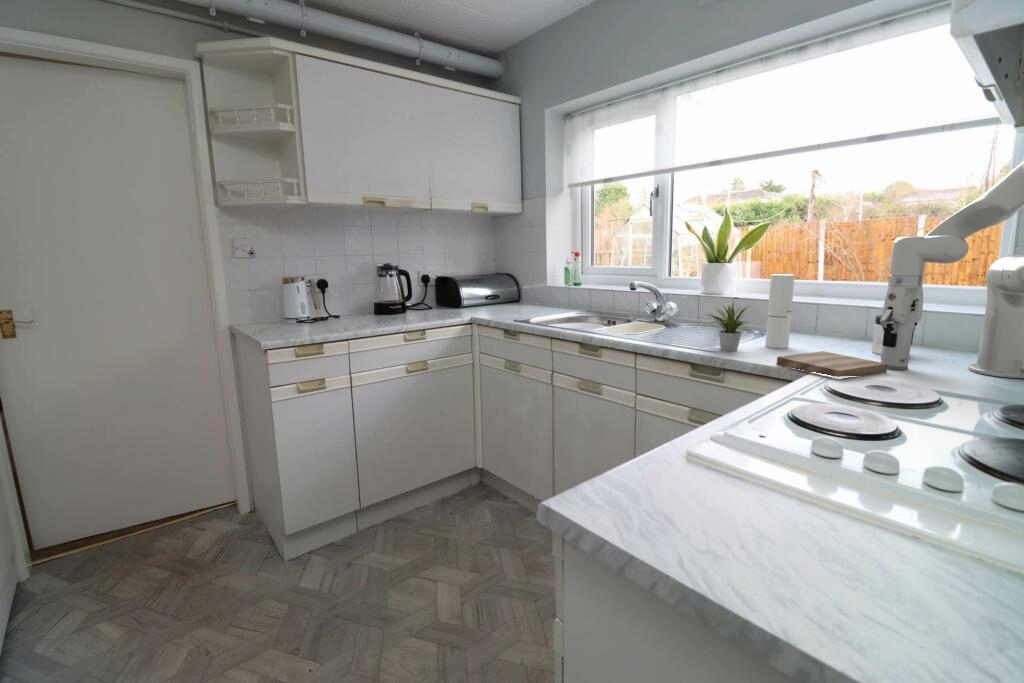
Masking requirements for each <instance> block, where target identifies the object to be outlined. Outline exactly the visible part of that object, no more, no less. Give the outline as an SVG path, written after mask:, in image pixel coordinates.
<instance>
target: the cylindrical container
mask: <svg viewBox="0 0 1024 683" xmlns="http://www.w3.org/2000/svg"><path fill="white" fill-rule="evenodd" d="M795 277H796V276H795V274H792V273H791V274H789V273H786V274H785V273H782V274H781V273H778V274H776V273H773V274H770V282H769V283H770V284H769V295H768V306H767V307H768V310H767V319H766V320H767V321H766V333H765V334H766V335H765V345H764V346H765V347H767V348H772V349H788V348H789V344H790V343H789V341H790V333H791V330H790V329H791V320H792V308H793V300H794V299H793V298H794V296H793V295H794V287H795V286H794V285H795Z"/></svg>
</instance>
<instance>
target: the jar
mask: <svg viewBox="0 0 1024 683" xmlns="http://www.w3.org/2000/svg"><path fill="white" fill-rule="evenodd" d="M882 316H883V314H879V315H876V316H875V320H874V322H875V323H874V328H873V337H872V338H873V339H872V344H871V345H872V346H871V353H873V354H876V355H877V354H878V355H882V348H883V345H882V344H883V336H884V332H883V327H882V324H881V323H880V319H881V318H882Z"/></svg>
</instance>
